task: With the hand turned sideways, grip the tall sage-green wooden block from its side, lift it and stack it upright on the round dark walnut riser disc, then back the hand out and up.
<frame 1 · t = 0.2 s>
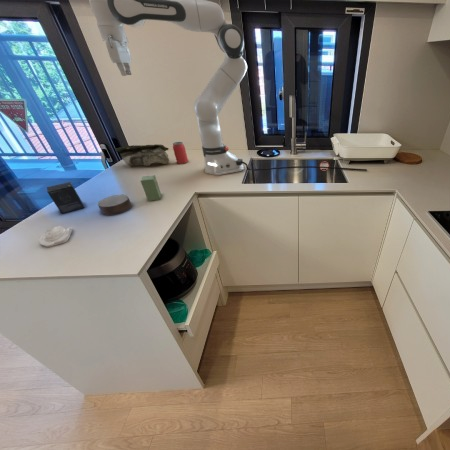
hand: (127, 75, 108), 48 cm above the countertop, tool pointing down, fingers open, 8 cm apart
box: (72, 209, 104), on the countertop
riser: (117, 208, 104), on the countertop
block: (155, 197, 113), on the countertop
white flat lumpy piece: (59, 239, 86), on the countertop
hollow geode rock: (147, 164, 150), on the countertop
beer can: (182, 162, 153), on the countertop
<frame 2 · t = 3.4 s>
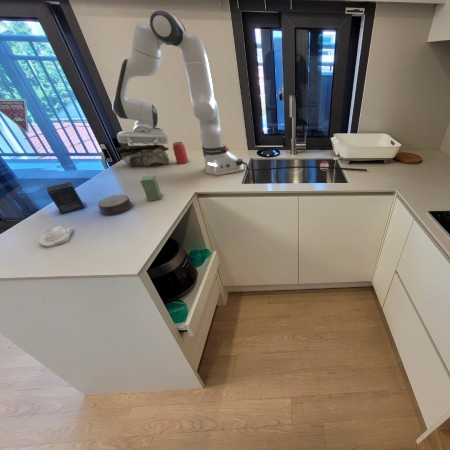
hand: (143, 143, 110), 22 cm above the countertop, tool horizontal, fingers open, 8 cm apart
nothing on the countertop moved.
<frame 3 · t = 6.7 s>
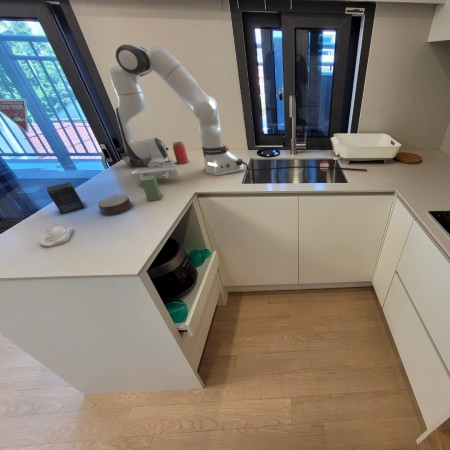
hand: (153, 178, 117), 6 cm above the countertop, tool horizontal, fingers open, 8 cm apart
nothing on the countertop moved.
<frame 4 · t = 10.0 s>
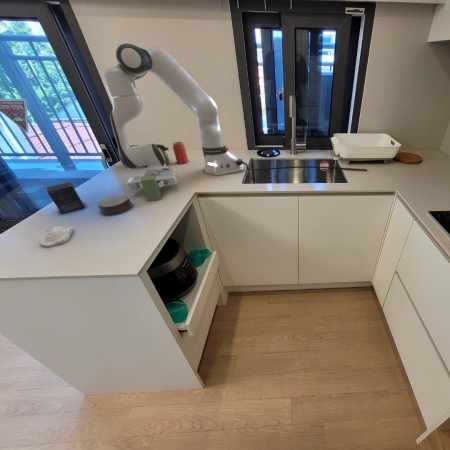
hand: (150, 187, 109), 6 cm above the countertop, tool horizontal, fingers closed on block, 5 cm apart
block: (155, 197, 113), on the countertop, touching gripper
everything else where it was.
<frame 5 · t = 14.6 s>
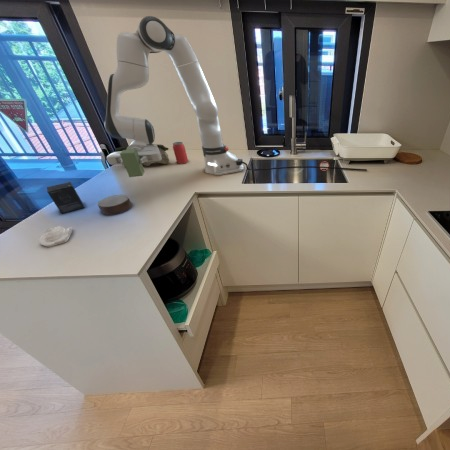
hand: (132, 162, 100), 18 cm above the countertop, tool horizontal, fingers closed on block, 5 cm apart
block: (137, 174, 104), point 13 cm above the countertop, touching gripper
everything else where it was.
when the fingers open (10 cm above the countertop, at t = 19.4 s): block stays where it is, resting on riser.
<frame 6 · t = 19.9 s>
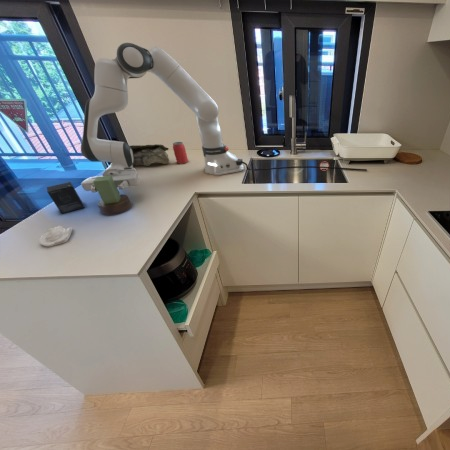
hand: (107, 189, 98), 10 cm above the countertop, tool horizontal, fingers open, 8 cm apart
block: (112, 200, 102), point 4 cm above the countertop, touching riser
everything else where it was.
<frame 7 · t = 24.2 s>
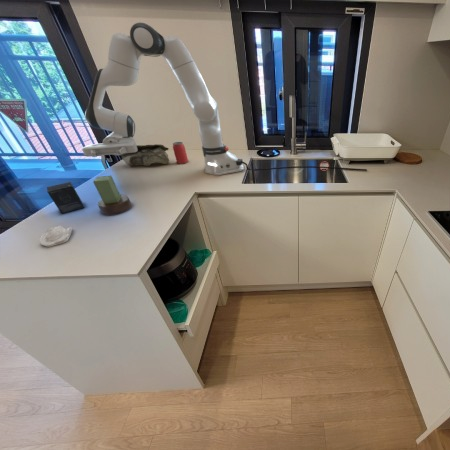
hand: (106, 153, 103), 20 cm above the countertop, tool horizontal, fingers open, 8 cm apart
nothing on the countertop moved.
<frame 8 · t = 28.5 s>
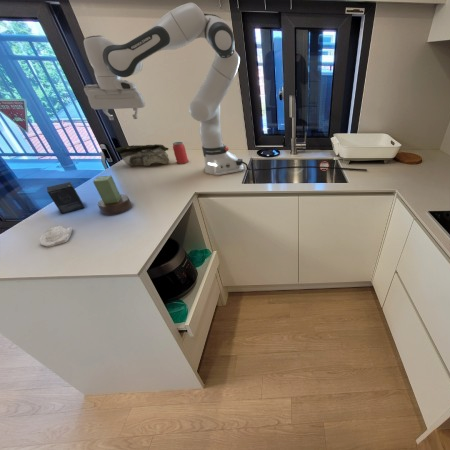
hand: (124, 119, 109), 31 cm above the countertop, tool pointing down, fingers open, 8 cm apart
nothing on the countertop moved.
at the end: block 0.2 cm off-centre on the riser, point 4.0 cm above the riser's base; block tilted 0°; the gripper is holding nothing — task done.
